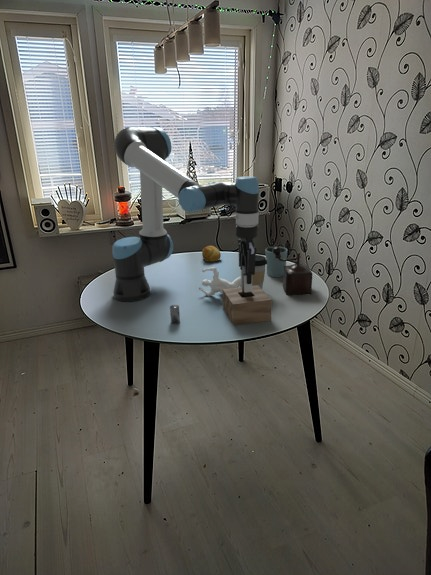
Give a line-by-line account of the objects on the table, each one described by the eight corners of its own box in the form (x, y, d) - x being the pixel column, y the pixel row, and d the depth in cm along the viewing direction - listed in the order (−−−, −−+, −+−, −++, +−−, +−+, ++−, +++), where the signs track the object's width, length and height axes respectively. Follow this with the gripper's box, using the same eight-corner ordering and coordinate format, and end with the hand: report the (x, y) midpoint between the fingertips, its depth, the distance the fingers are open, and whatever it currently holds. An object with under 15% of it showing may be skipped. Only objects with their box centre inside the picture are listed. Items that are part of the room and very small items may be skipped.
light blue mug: (281, 279, 172) (282, 253, 167) (261, 275, 177) (261, 250, 172) (289, 272, 180) (290, 247, 175) (270, 269, 185) (270, 245, 180)
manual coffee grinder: (306, 284, 165) (308, 244, 158) (311, 294, 155) (315, 252, 148) (270, 285, 165) (271, 245, 158) (273, 295, 155) (275, 253, 148)
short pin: (170, 320, 136) (169, 305, 134) (179, 319, 137) (178, 304, 134) (171, 324, 133) (170, 309, 131) (180, 323, 134) (179, 308, 131)
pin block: (222, 308, 144) (222, 289, 141) (257, 304, 147) (258, 285, 144) (233, 325, 132) (232, 304, 129) (271, 320, 134) (271, 299, 131)
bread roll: (201, 256, 207) (201, 241, 204) (219, 255, 208) (219, 241, 205) (202, 263, 195) (202, 248, 192) (221, 262, 196) (221, 247, 193)
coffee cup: (242, 288, 163) (242, 254, 157) (264, 287, 163) (265, 253, 158) (245, 297, 154) (245, 262, 148) (268, 295, 154) (269, 260, 149)
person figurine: (241, 264, 159) (202, 264, 150) (256, 279, 150) (216, 280, 141) (233, 290, 165) (195, 292, 157) (247, 307, 156) (208, 309, 147)
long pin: (240, 301, 139) (240, 264, 133) (249, 300, 139) (249, 264, 134) (243, 304, 136) (243, 267, 130) (252, 303, 136) (252, 266, 131)
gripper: (229, 220, 133) (230, 282, 142) (243, 231, 119) (243, 299, 128) (249, 219, 135) (249, 280, 144) (266, 229, 120) (264, 297, 129)
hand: (246, 289), depth 136 cm, fingers closed on long pin, 3 cm apart
